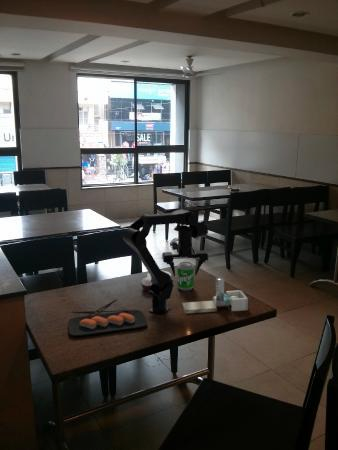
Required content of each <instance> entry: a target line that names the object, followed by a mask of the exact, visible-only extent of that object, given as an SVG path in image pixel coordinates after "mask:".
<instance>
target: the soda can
mask: <svg viewBox="0 0 338 450" xmlns="http://www.w3.org/2000/svg"><path fill="white" fill-rule="evenodd" d="M194 266H195V265H194V264H193V263H192V262H191V261H181V262H180V263H179V264H177V288H178V289H179V290H181V291H184V292H185V291H187V292H188V291H191V290H192V289H193V288H194V287H195V286H194V285H195V284H194V283H195V282H194V279H195V278H194V277H195V267H194Z"/></svg>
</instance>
